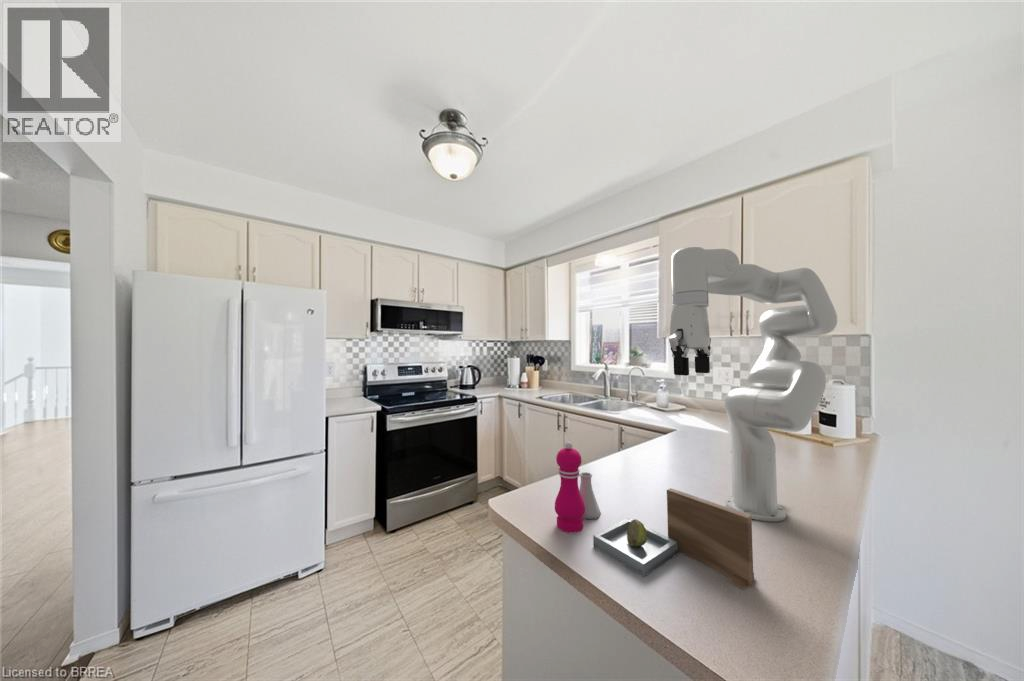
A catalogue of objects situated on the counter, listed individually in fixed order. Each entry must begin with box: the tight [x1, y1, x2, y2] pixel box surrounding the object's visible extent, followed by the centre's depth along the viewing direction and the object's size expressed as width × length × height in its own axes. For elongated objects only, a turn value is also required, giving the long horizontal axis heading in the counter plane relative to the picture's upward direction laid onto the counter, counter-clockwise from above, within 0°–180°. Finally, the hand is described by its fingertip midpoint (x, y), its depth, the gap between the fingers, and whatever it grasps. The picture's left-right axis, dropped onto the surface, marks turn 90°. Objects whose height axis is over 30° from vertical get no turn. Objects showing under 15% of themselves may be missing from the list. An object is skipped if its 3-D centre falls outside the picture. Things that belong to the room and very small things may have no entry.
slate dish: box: [592, 518, 678, 578], centre depth 70 cm, size 12×12×2 cm
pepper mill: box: [554, 441, 585, 534], centre depth 80 cm, size 7×7×20 cm
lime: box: [627, 519, 647, 547], centre depth 70 cm, size 4×5×5 cm
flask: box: [579, 471, 602, 520], centre depth 86 cm, size 7×7×10 cm
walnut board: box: [666, 487, 755, 590], centre depth 65 cm, size 5×15×12 cm, turn 35°
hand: (692, 373), depth 78 cm, fingers open, 9 cm apart
